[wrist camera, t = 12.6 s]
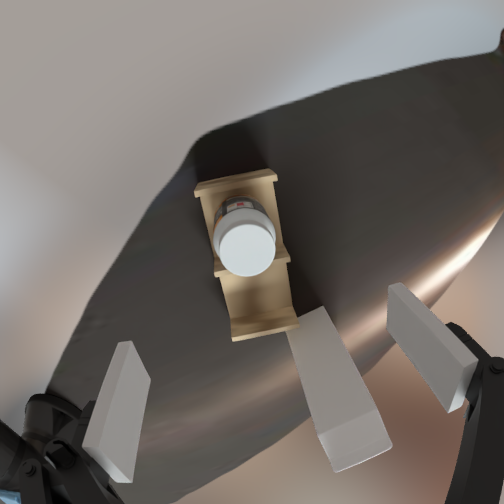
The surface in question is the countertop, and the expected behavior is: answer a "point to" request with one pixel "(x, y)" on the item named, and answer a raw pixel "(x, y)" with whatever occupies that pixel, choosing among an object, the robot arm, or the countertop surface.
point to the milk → (336, 393)
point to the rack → (261, 285)
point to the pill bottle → (243, 235)
